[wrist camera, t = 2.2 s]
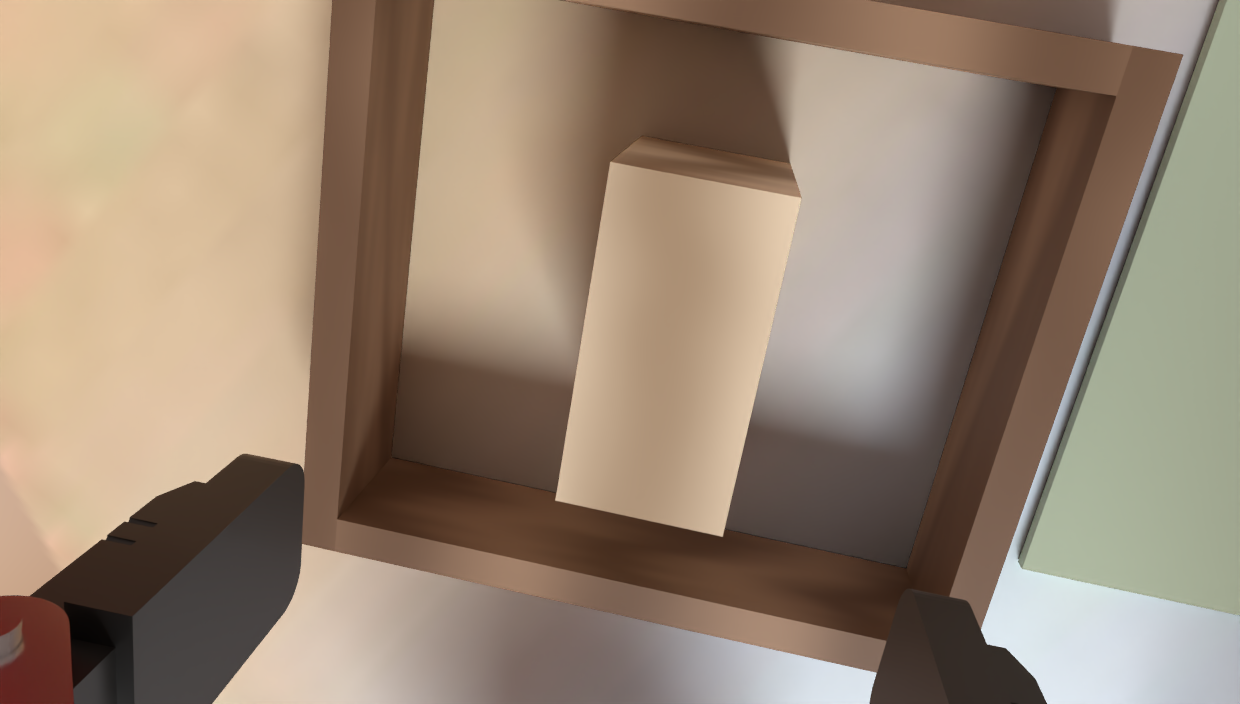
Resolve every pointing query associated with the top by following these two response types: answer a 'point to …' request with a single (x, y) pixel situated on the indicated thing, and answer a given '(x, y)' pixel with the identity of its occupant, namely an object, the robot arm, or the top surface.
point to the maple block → (676, 331)
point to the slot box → (736, 563)
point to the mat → (1164, 378)
